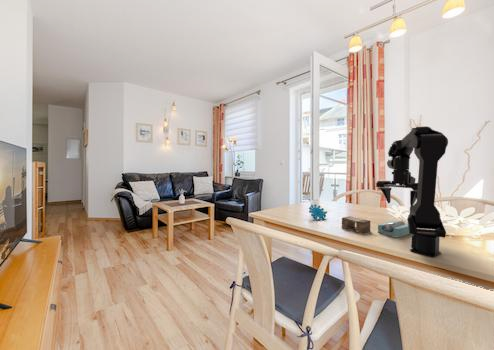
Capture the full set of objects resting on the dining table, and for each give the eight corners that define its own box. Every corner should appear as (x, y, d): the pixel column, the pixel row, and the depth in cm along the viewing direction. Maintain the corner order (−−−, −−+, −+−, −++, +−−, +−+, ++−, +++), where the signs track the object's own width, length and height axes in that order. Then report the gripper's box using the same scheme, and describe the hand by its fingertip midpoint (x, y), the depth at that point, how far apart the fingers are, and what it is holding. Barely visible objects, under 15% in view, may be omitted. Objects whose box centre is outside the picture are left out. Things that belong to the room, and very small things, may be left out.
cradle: (412, 232, 97) (412, 225, 97) (397, 237, 91) (398, 228, 91) (392, 228, 104) (392, 221, 104) (377, 232, 98) (378, 224, 98)
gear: (312, 218, 117) (307, 202, 124) (307, 223, 121) (303, 208, 128) (331, 219, 120) (325, 204, 127) (325, 225, 124) (320, 210, 131)
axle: (398, 227, 102) (397, 220, 102) (405, 228, 99) (404, 221, 99) (383, 231, 96) (382, 223, 96) (390, 232, 93) (390, 224, 93)
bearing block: (370, 230, 100) (370, 220, 100) (362, 233, 97) (362, 222, 97) (349, 225, 109) (349, 216, 109) (341, 227, 106) (341, 217, 106)
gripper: (435, 169, 94) (433, 206, 95) (388, 169, 110) (387, 200, 111) (422, 170, 89) (421, 209, 89) (375, 169, 105) (375, 202, 105)
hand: (400, 204), depth 99 cm, fingers open, 9 cm apart
